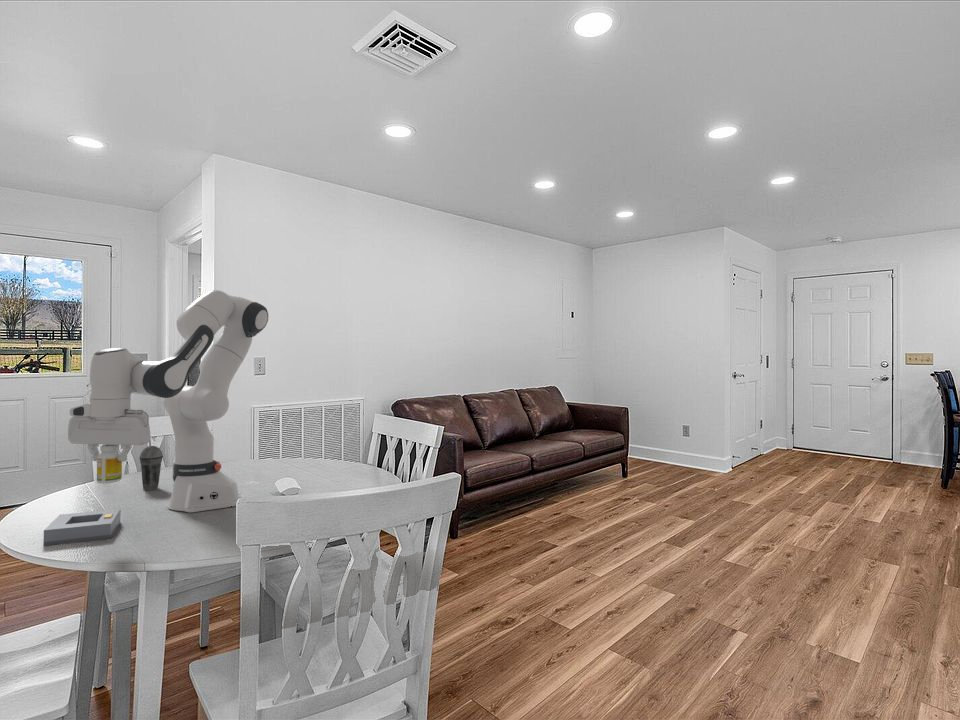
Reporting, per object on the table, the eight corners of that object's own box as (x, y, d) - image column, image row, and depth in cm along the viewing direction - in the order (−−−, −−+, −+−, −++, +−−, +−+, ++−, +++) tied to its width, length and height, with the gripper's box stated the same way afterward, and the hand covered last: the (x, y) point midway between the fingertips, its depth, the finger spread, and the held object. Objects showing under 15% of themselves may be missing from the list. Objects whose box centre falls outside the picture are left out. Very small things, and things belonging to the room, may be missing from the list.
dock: (120, 522, 147) (120, 507, 147) (110, 538, 135) (110, 522, 135) (59, 528, 141) (59, 513, 141) (43, 545, 128) (43, 529, 128)
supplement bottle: (92, 484, 131) (92, 447, 131) (104, 479, 136) (105, 443, 136) (114, 483, 132) (114, 447, 132) (126, 478, 137) (126, 443, 137)
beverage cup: (167, 486, 188) (168, 433, 188) (152, 491, 180) (153, 435, 180) (148, 485, 188) (150, 432, 188) (133, 490, 181) (134, 435, 181)
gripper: (156, 408, 137) (155, 459, 137) (83, 406, 138) (82, 457, 138) (139, 411, 130) (139, 464, 131) (63, 409, 131) (62, 462, 131)
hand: (109, 461), depth 134 cm, fingers closed on supplement bottle, 5 cm apart
